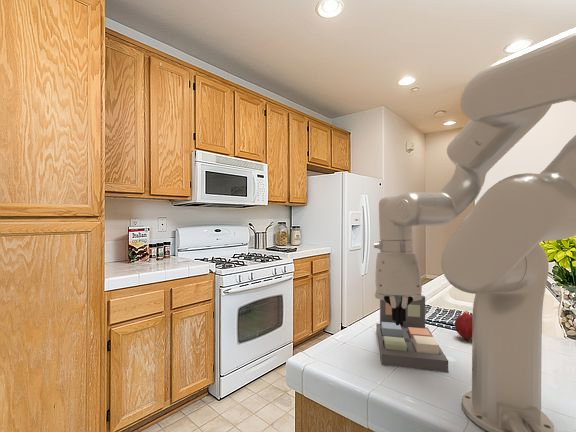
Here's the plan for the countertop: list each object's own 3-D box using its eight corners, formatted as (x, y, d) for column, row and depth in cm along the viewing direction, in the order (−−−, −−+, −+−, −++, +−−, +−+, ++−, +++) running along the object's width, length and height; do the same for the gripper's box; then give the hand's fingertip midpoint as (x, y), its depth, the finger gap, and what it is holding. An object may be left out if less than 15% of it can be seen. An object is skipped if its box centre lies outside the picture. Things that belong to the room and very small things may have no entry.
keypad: (448, 372, 66) (448, 319, 66) (381, 364, 69) (381, 314, 69) (427, 336, 85) (427, 295, 85) (376, 331, 89) (376, 292, 89)
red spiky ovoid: (483, 344, 80) (484, 314, 80) (462, 344, 80) (462, 314, 80) (471, 335, 86) (471, 307, 86) (450, 335, 86) (450, 307, 86)
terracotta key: (430, 345, 77) (430, 335, 77) (410, 343, 78) (410, 333, 78) (426, 337, 82) (426, 328, 82) (407, 336, 83) (407, 327, 83)
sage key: (406, 356, 71) (406, 346, 71) (385, 354, 72) (385, 343, 72) (403, 347, 76) (403, 337, 75) (383, 345, 77) (383, 336, 77)
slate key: (401, 339, 79) (401, 329, 79) (382, 337, 80) (382, 328, 80) (399, 332, 83) (399, 323, 83) (381, 330, 84) (381, 321, 84)
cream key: (439, 356, 69) (439, 345, 69) (416, 353, 70) (416, 343, 70) (434, 347, 74) (434, 337, 74) (413, 345, 75) (413, 335, 75)
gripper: (364, 248, 71) (367, 327, 71) (433, 248, 68) (436, 330, 67) (364, 246, 79) (366, 317, 78) (425, 246, 75) (428, 320, 74)
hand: (398, 323), depth 73 cm, fingers closed
